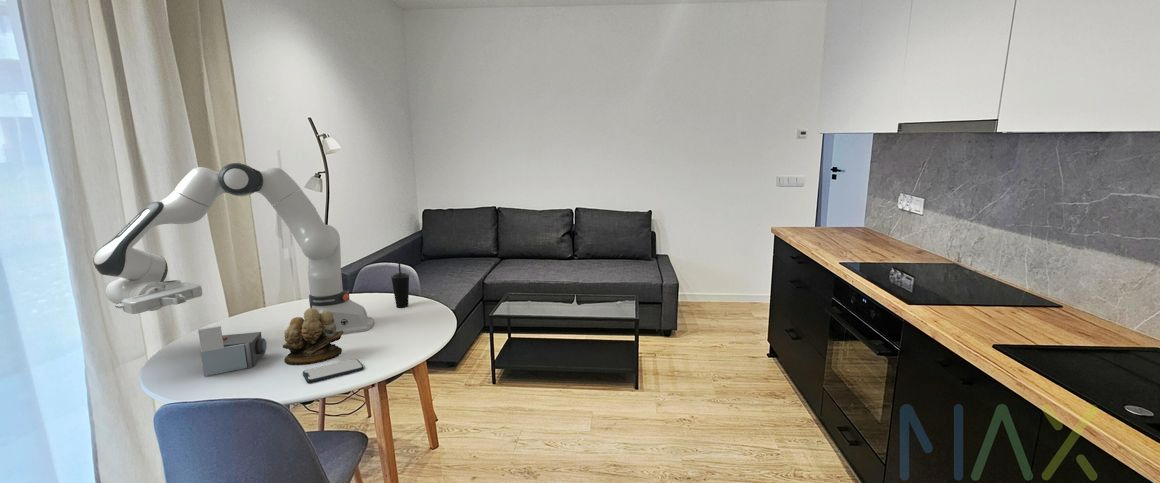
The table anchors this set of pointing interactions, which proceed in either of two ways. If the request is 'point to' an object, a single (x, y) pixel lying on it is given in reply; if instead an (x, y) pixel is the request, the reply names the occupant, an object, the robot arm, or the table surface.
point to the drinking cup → (401, 288)
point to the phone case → (332, 371)
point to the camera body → (253, 339)
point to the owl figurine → (312, 338)
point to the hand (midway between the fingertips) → (181, 300)
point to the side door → (221, 352)
